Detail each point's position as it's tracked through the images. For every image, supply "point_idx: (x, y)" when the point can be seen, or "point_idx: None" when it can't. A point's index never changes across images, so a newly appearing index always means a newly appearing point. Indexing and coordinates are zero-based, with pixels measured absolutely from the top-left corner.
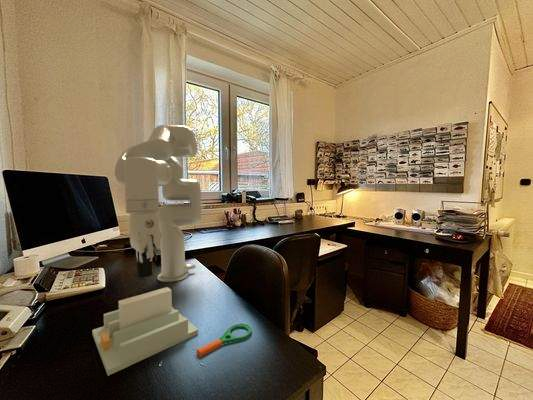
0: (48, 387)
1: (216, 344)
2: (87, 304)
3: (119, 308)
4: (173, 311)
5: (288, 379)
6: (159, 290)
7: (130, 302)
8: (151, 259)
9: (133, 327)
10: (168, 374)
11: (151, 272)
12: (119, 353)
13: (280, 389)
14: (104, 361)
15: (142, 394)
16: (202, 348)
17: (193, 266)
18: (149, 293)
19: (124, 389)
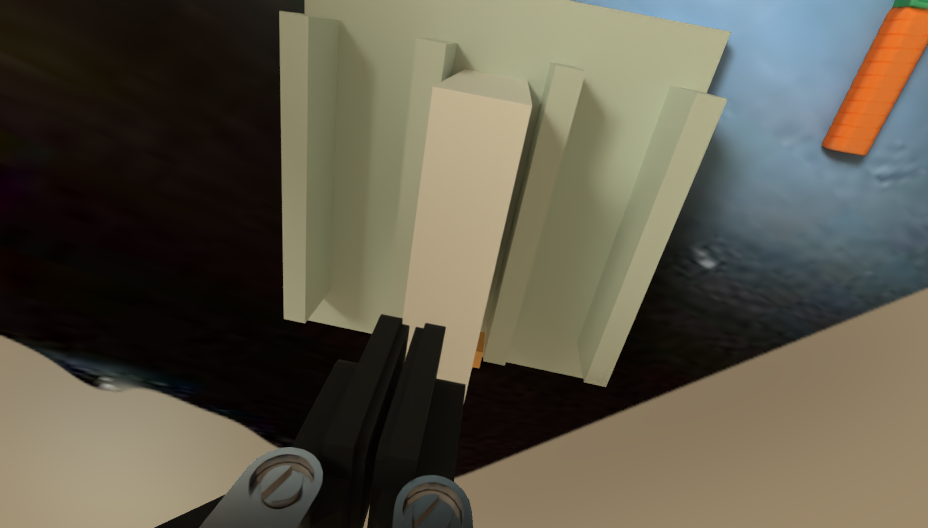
0: (493, 443)
1: (920, 56)
2: (4, 225)
3: None
4: (558, 95)
5: None
6: (448, 171)
7: (471, 369)
8: (470, 524)
9: (517, 304)
10: (778, 274)
11: (439, 345)
12: (543, 330)
13: None
14: (540, 368)
15: (758, 353)
16: (863, 131)
17: None
18: (439, 245)
19: (688, 367)
